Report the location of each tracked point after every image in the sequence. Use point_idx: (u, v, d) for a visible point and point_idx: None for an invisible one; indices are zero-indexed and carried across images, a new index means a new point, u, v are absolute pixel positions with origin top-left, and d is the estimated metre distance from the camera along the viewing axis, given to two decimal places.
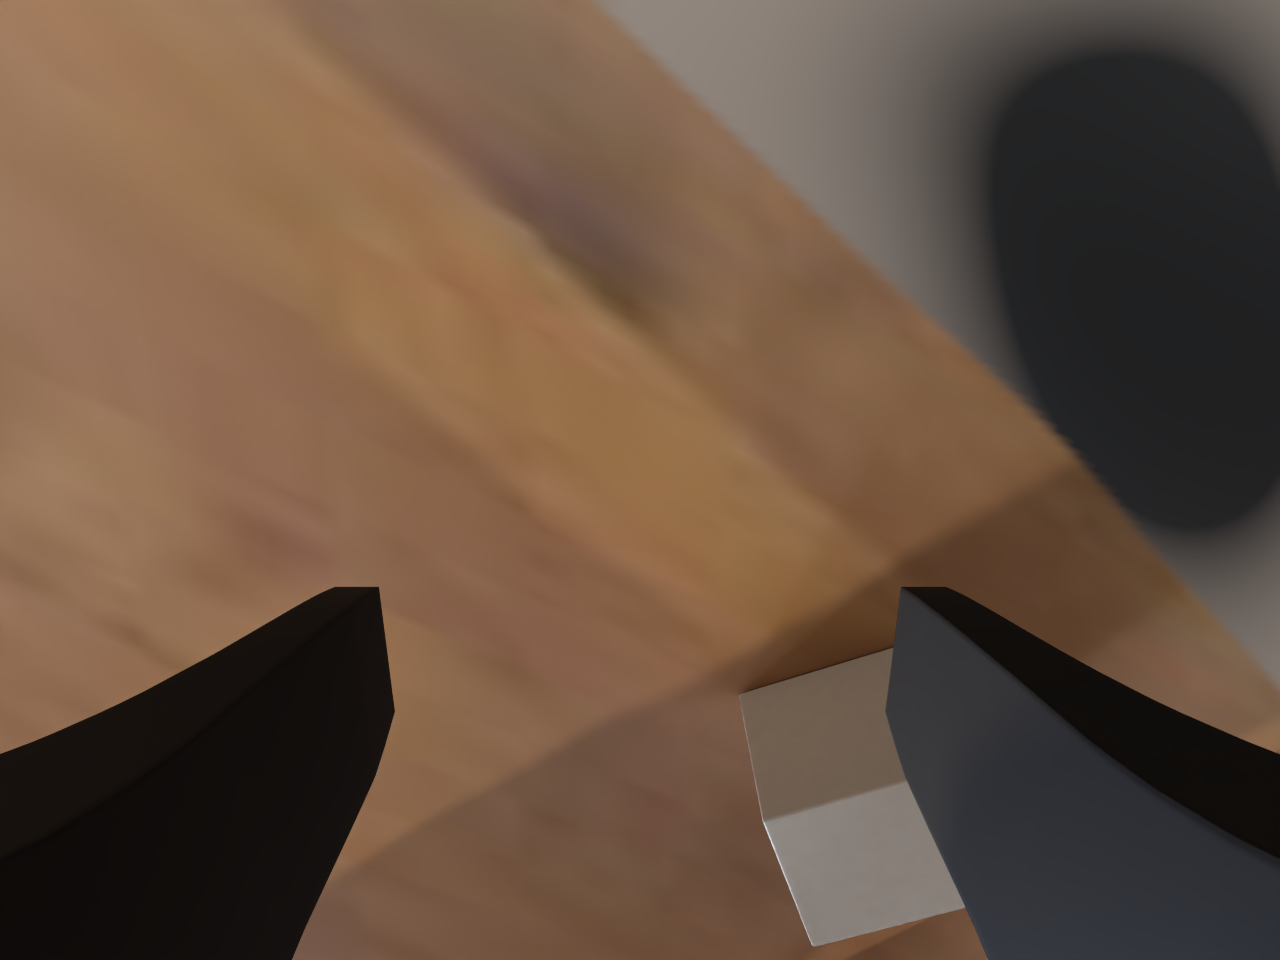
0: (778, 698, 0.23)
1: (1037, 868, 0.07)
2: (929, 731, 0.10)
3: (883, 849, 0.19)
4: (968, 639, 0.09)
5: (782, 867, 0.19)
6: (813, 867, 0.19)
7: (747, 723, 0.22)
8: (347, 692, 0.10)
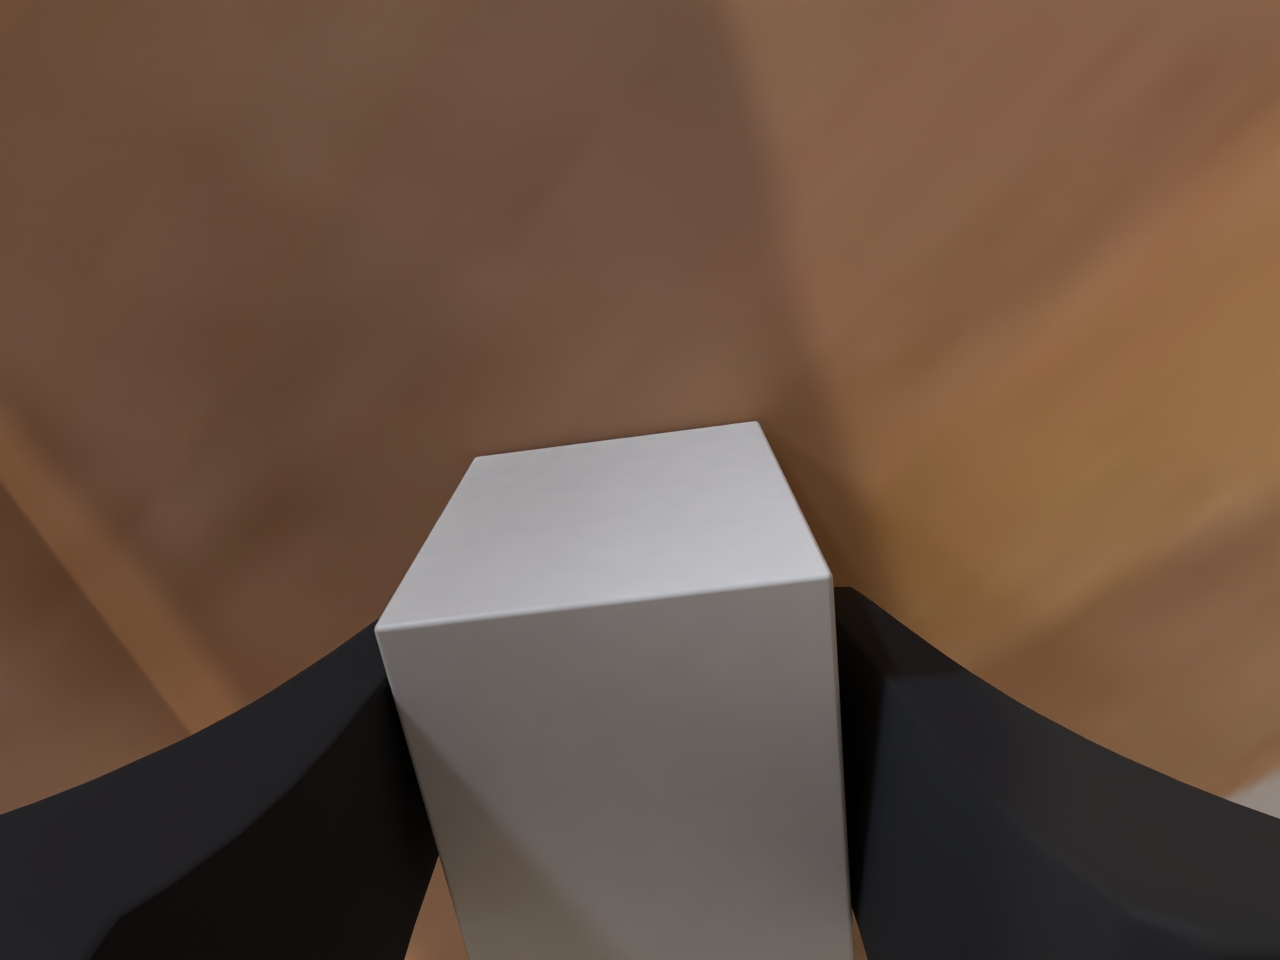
0: None
1: (899, 868, 0.07)
2: None
3: (672, 805, 0.08)
4: (851, 639, 0.09)
5: (669, 596, 0.07)
6: (652, 664, 0.08)
7: None
8: None
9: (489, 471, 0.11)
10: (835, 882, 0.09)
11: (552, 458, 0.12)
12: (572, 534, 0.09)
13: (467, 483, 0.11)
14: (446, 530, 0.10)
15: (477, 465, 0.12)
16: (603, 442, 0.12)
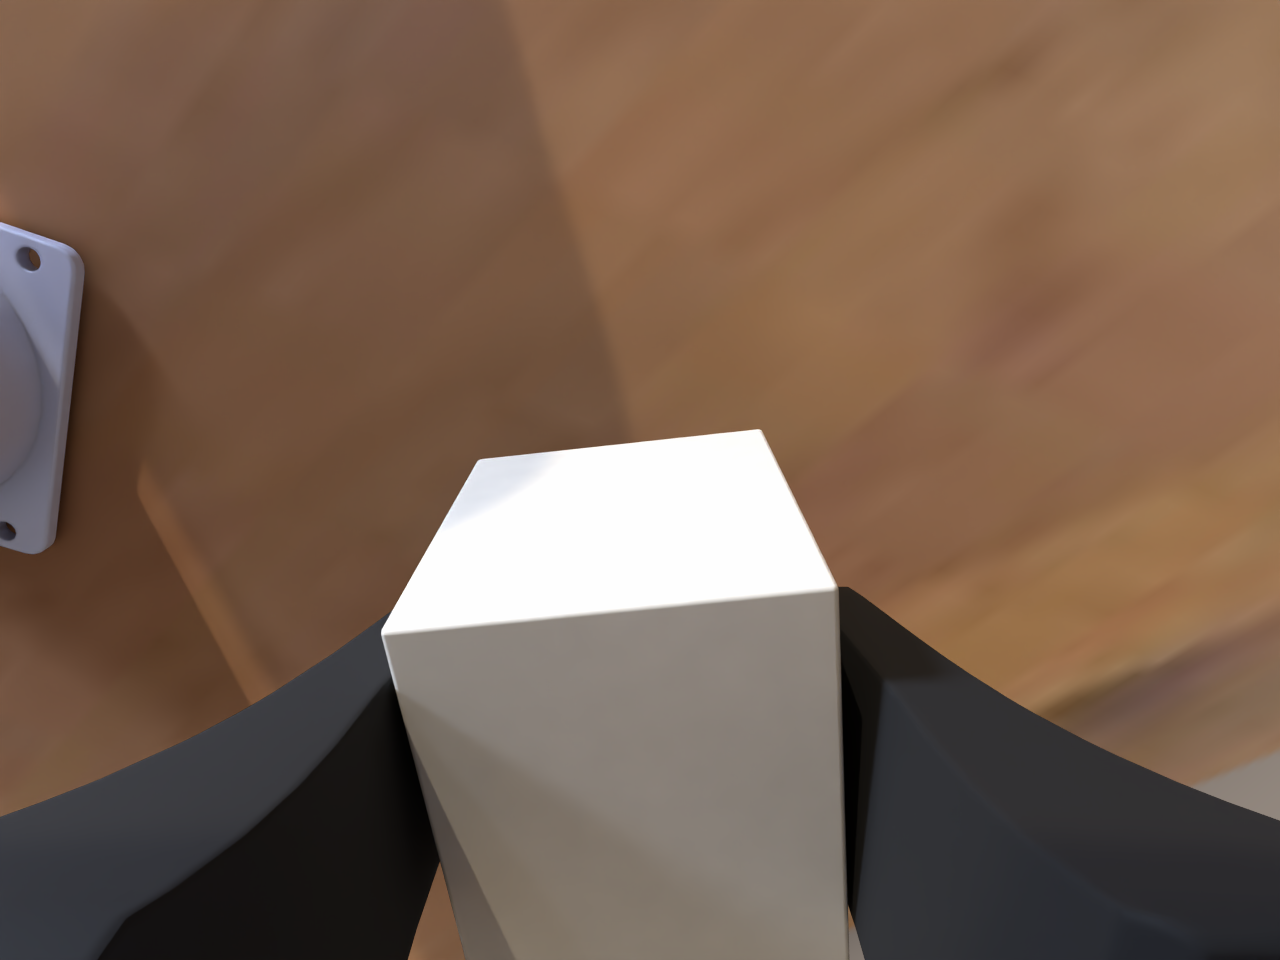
0: None
1: (896, 867, 0.07)
2: None
3: (672, 812, 0.08)
4: (848, 639, 0.09)
5: (675, 605, 0.07)
6: (658, 672, 0.08)
7: None
8: None
9: (492, 474, 0.11)
10: (832, 891, 0.09)
11: (556, 462, 0.12)
12: (578, 540, 0.09)
13: (471, 486, 0.11)
14: (451, 533, 0.10)
15: (481, 468, 0.12)
16: (607, 447, 0.12)
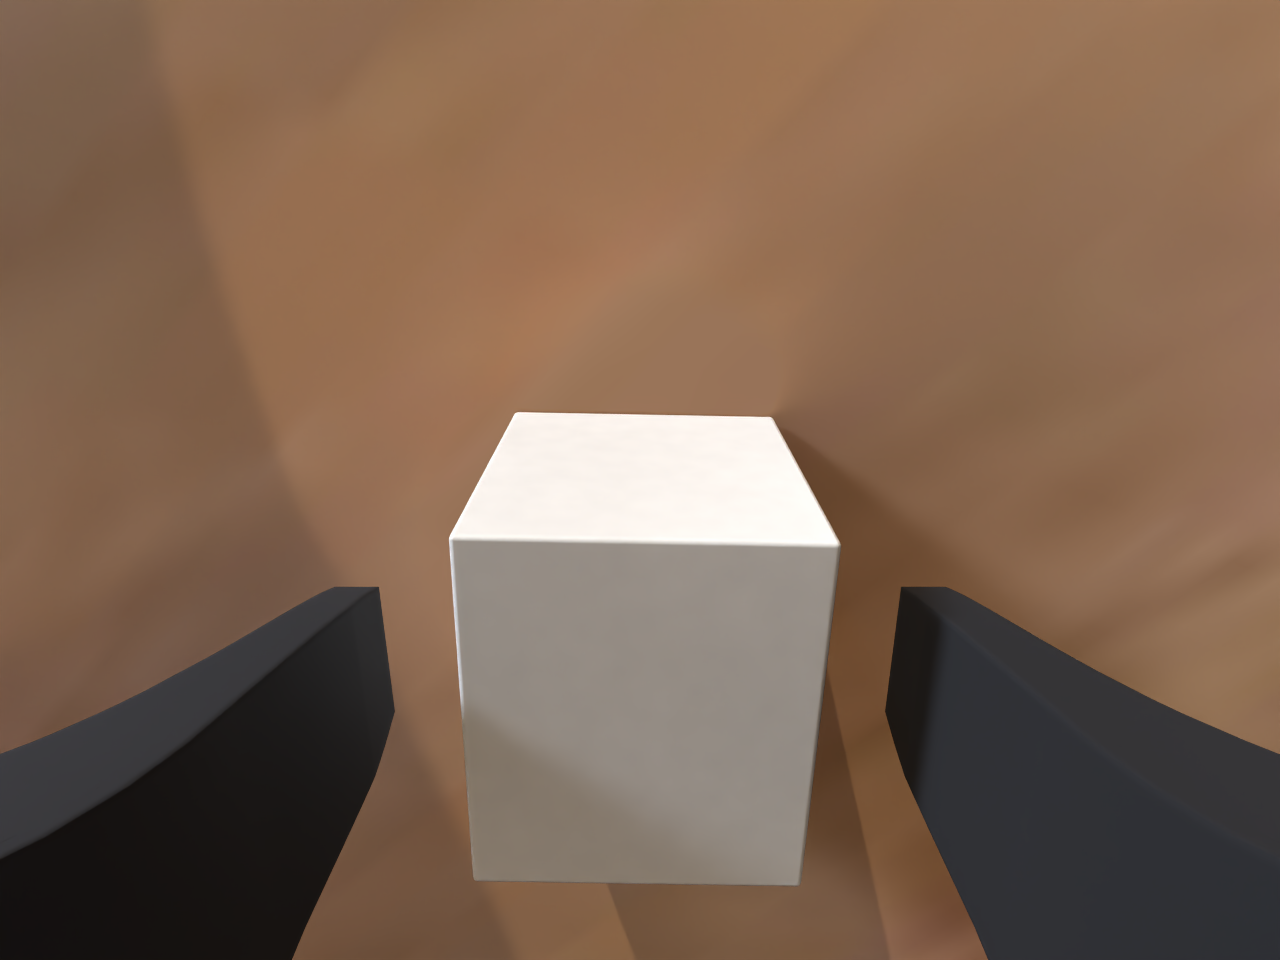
0: None
1: (1037, 868, 0.07)
2: (929, 731, 0.10)
3: (672, 725, 0.10)
4: (968, 639, 0.09)
5: (704, 543, 0.09)
6: (680, 600, 0.09)
7: None
8: (346, 691, 0.10)
9: (531, 425, 0.13)
10: (797, 811, 0.10)
11: (588, 423, 0.13)
12: (615, 486, 0.10)
13: (512, 433, 0.12)
14: (500, 468, 0.11)
15: (519, 419, 0.13)
16: (633, 416, 0.13)
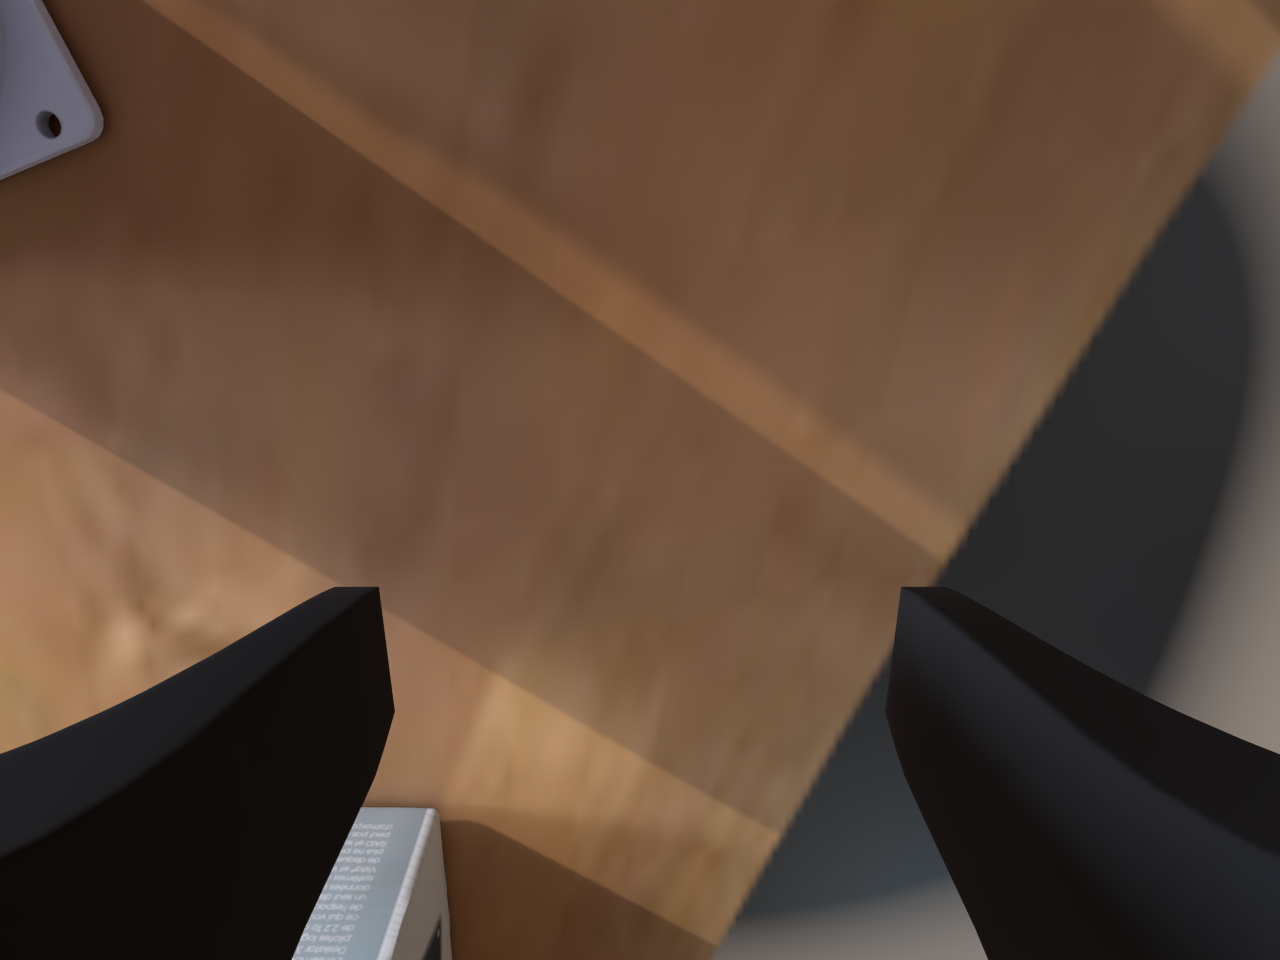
0: None
1: (1037, 869, 0.07)
2: (929, 731, 0.10)
3: None
4: (968, 639, 0.09)
5: None
6: None
7: None
8: (346, 692, 0.10)
9: None
10: None
11: None
12: None
13: None
14: None
15: None
16: None
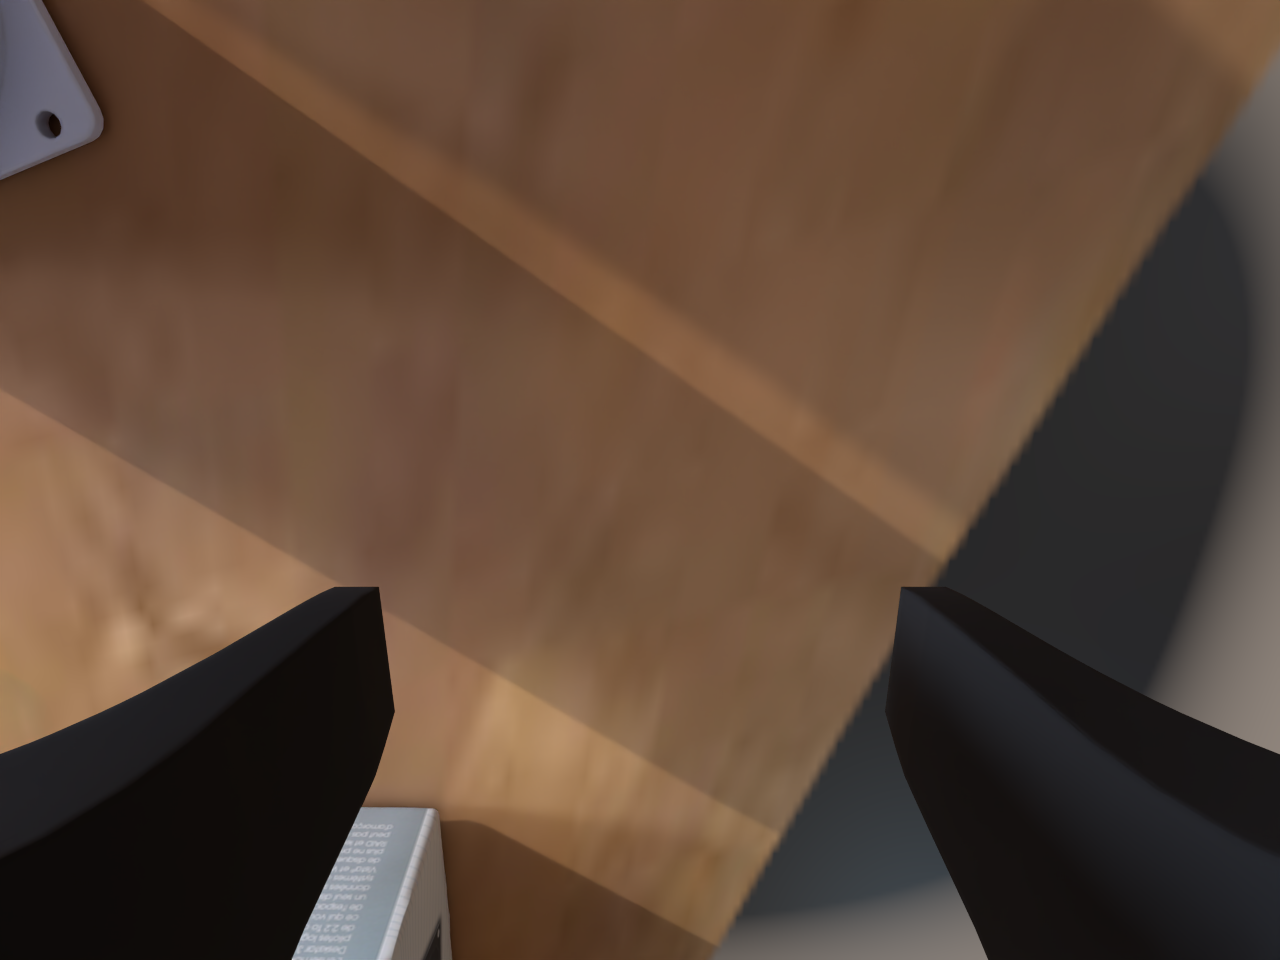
0: None
1: (1037, 869, 0.07)
2: (929, 731, 0.10)
3: None
4: (968, 639, 0.09)
5: None
6: None
7: None
8: (346, 692, 0.10)
9: None
10: None
11: None
12: None
13: None
14: None
15: None
16: None
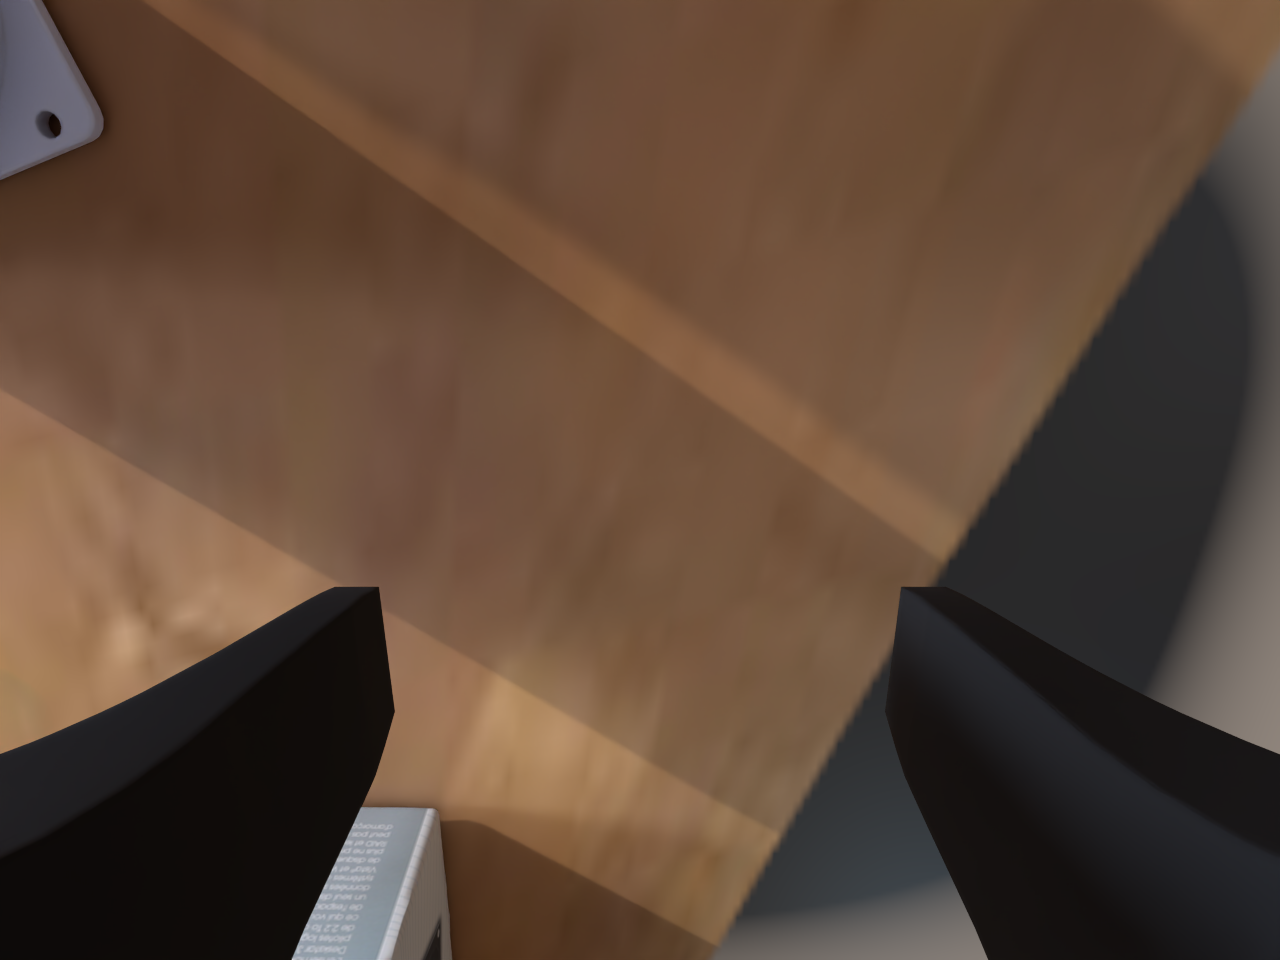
0: None
1: (1037, 869, 0.07)
2: (929, 731, 0.10)
3: None
4: (968, 639, 0.09)
5: None
6: None
7: None
8: (346, 692, 0.10)
9: None
10: None
11: None
12: None
13: None
14: None
15: None
16: None
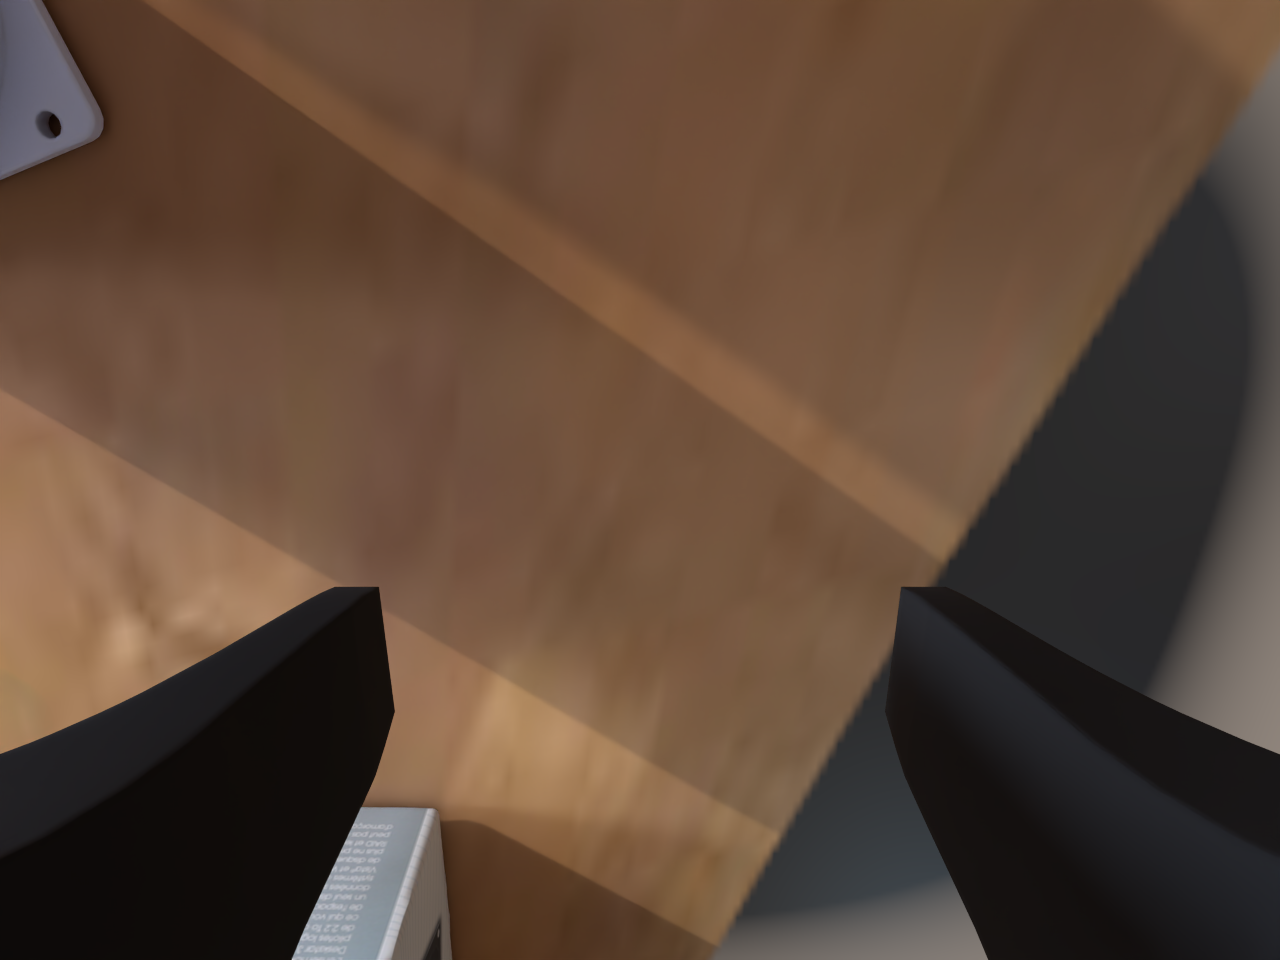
0: None
1: (1037, 869, 0.07)
2: (929, 731, 0.10)
3: None
4: (968, 639, 0.09)
5: None
6: None
7: None
8: (346, 692, 0.10)
9: None
10: None
11: None
12: None
13: None
14: None
15: None
16: None
